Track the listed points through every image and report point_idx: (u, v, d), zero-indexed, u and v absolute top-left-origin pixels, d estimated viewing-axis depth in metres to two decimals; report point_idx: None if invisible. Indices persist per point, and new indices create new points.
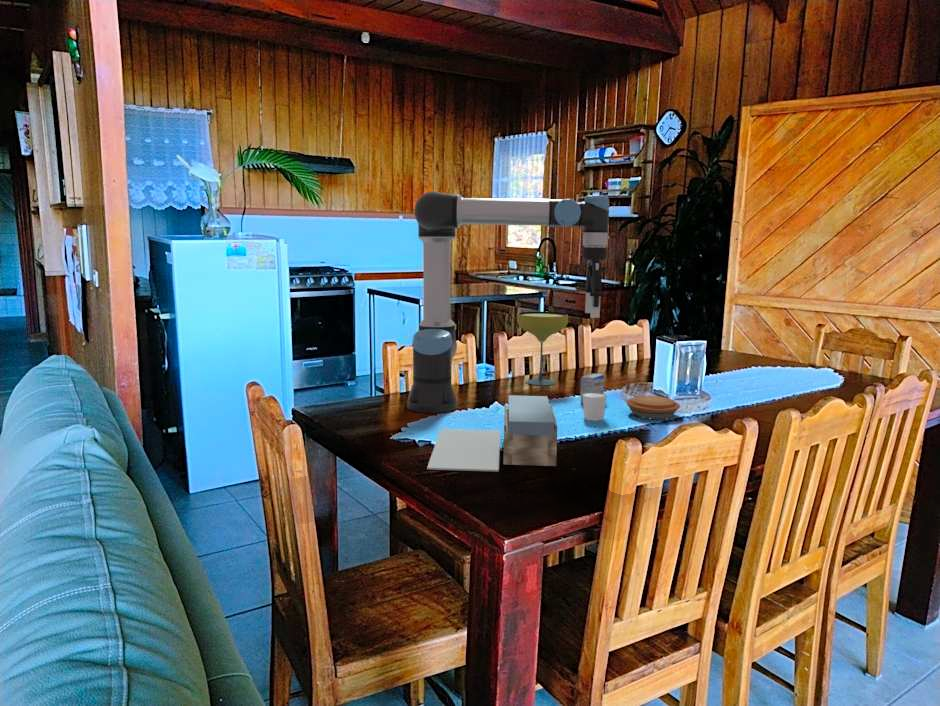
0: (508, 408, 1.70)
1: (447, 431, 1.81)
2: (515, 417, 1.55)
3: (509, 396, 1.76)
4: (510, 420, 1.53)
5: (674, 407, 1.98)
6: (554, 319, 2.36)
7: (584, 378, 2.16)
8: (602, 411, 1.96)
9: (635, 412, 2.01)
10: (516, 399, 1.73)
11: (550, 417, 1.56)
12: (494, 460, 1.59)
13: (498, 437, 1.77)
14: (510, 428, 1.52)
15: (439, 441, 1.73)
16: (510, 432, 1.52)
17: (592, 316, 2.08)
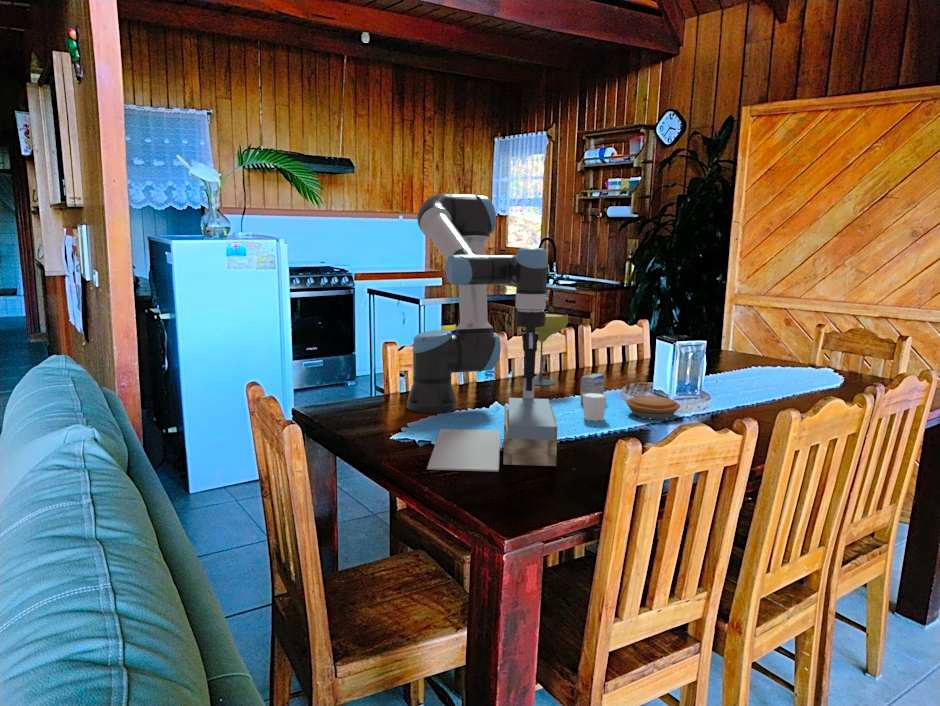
0: None
1: (447, 431, 1.81)
2: (515, 421, 1.52)
3: (509, 398, 1.73)
4: (510, 424, 1.49)
5: (674, 407, 1.98)
6: (554, 319, 2.36)
7: (584, 378, 2.16)
8: (602, 411, 1.96)
9: (635, 412, 2.01)
10: (516, 402, 1.70)
11: (551, 421, 1.52)
12: (494, 460, 1.59)
13: (498, 437, 1.77)
14: (510, 432, 1.49)
15: (439, 441, 1.73)
16: (510, 436, 1.49)
17: None
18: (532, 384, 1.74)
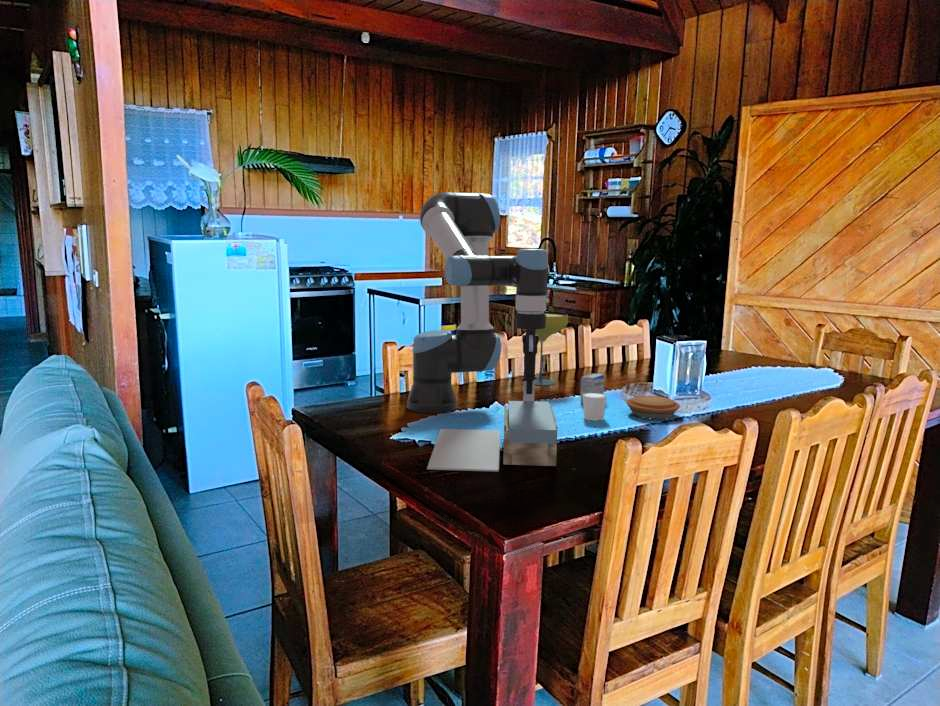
0: None
1: (447, 431, 1.81)
2: (516, 424, 1.49)
3: (509, 402, 1.70)
4: (510, 427, 1.47)
5: (674, 407, 1.98)
6: (554, 319, 2.36)
7: (584, 378, 2.16)
8: (602, 411, 1.96)
9: (635, 412, 2.01)
10: (516, 405, 1.67)
11: (552, 424, 1.50)
12: (494, 460, 1.59)
13: (498, 437, 1.77)
14: (511, 436, 1.46)
15: (439, 441, 1.73)
16: (510, 440, 1.46)
17: None
18: (532, 387, 1.71)
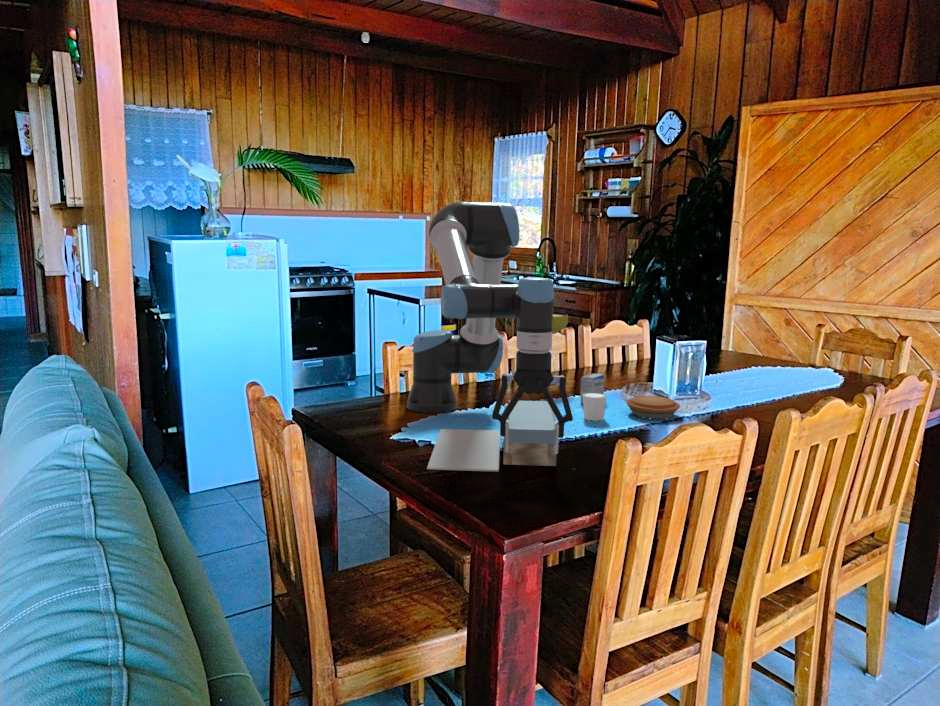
0: None
1: (447, 431, 1.81)
2: (515, 424, 1.49)
3: (509, 401, 1.70)
4: (510, 428, 1.47)
5: (674, 406, 1.98)
6: (554, 319, 2.36)
7: (584, 378, 2.16)
8: (602, 411, 1.96)
9: (635, 412, 2.01)
10: (517, 404, 1.67)
11: (552, 424, 1.50)
12: (494, 460, 1.59)
13: (498, 437, 1.77)
14: (510, 436, 1.46)
15: (439, 441, 1.73)
16: (510, 440, 1.46)
17: None
18: (505, 430, 1.48)
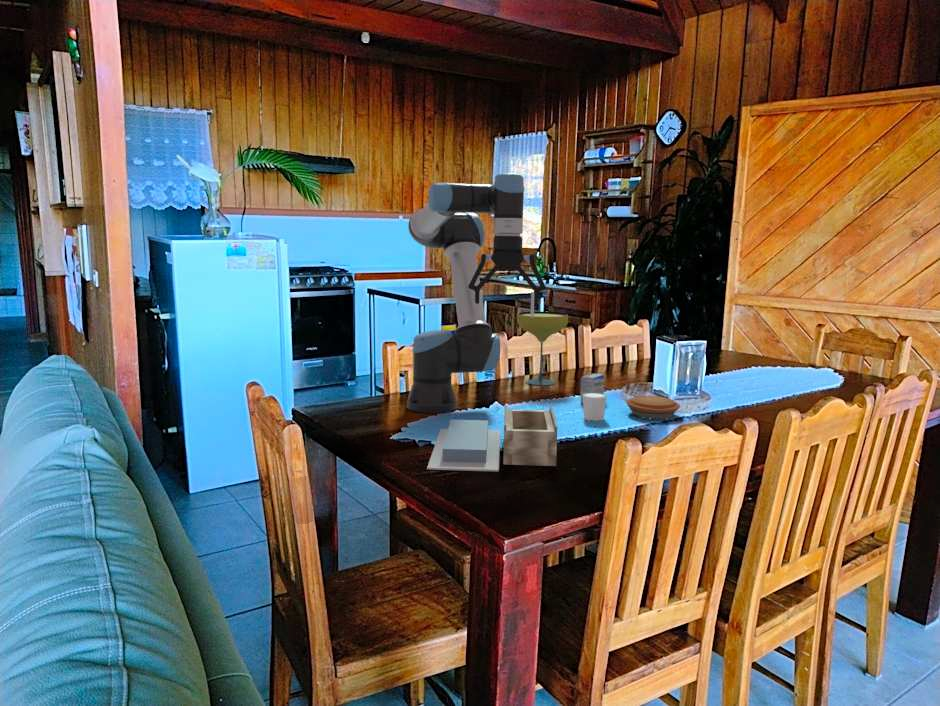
0: None
1: None
2: (450, 444, 1.60)
3: (451, 420, 1.81)
4: (444, 447, 1.57)
5: (674, 407, 1.98)
6: (554, 319, 2.36)
7: (584, 378, 2.16)
8: (602, 411, 1.96)
9: (635, 412, 2.01)
10: (457, 424, 1.78)
11: (484, 444, 1.60)
12: (494, 460, 1.59)
13: (498, 437, 1.77)
14: (444, 455, 1.57)
15: (439, 441, 1.73)
16: (444, 459, 1.57)
17: None
18: (479, 298, 1.80)
